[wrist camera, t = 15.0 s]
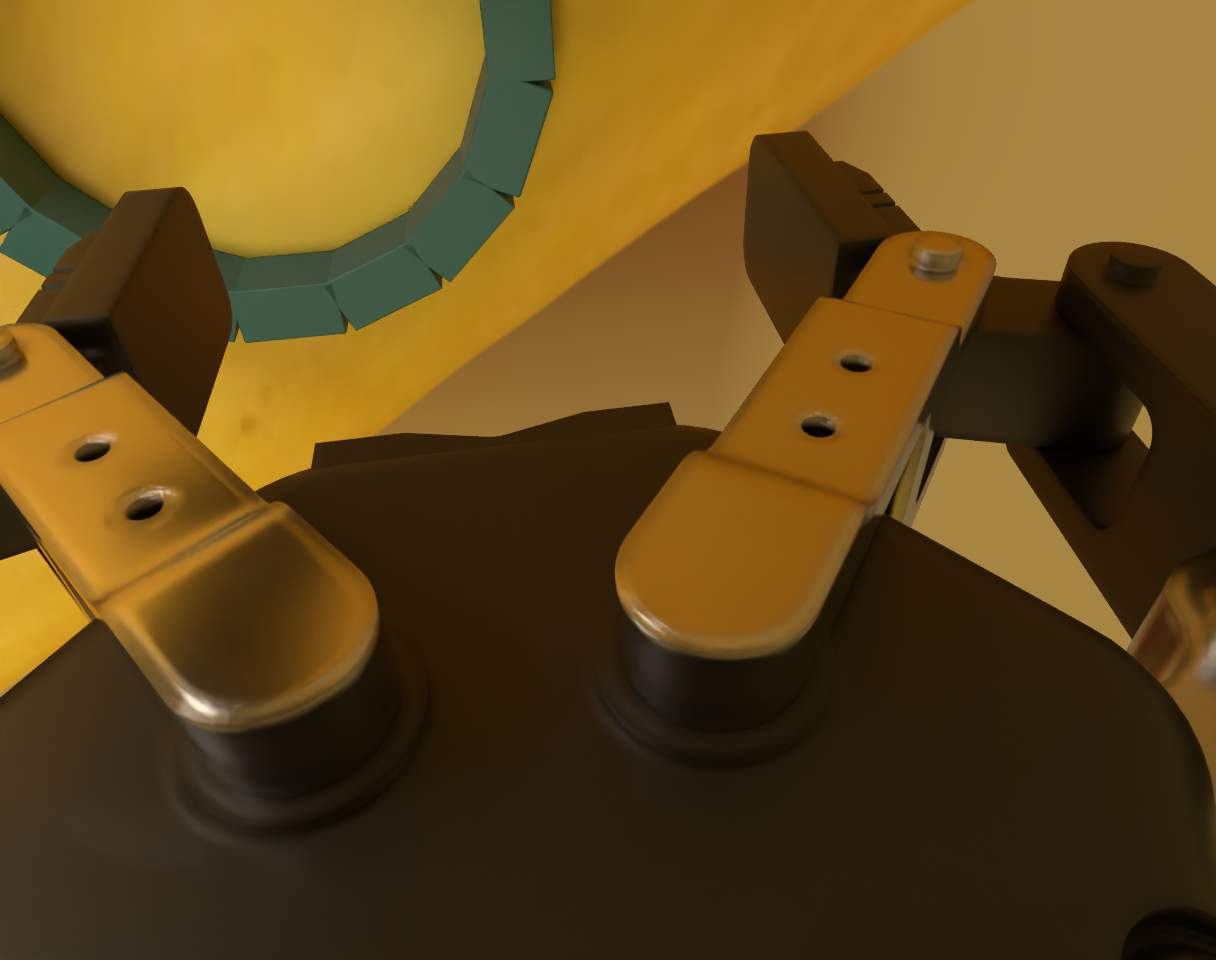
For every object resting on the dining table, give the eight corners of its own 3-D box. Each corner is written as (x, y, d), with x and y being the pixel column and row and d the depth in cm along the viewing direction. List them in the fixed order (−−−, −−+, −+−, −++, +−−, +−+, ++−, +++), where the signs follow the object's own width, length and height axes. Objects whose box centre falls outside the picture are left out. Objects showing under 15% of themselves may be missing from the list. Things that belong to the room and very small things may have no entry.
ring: (-376, -446, 23) (-467, -466, 20) (513, -462, 25) (520, -482, 23) (32, 329, 38) (5, 366, 36) (563, 279, 40) (570, 312, 38)
